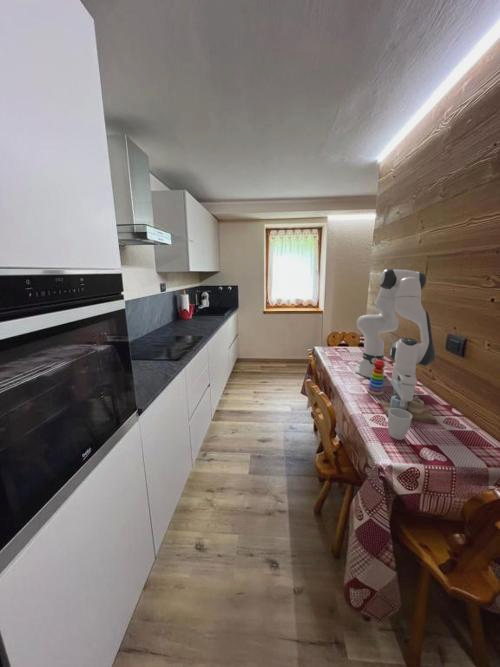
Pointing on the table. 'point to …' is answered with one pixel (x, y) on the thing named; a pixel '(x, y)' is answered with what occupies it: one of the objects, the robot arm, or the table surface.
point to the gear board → (414, 416)
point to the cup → (398, 423)
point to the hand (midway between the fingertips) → (398, 401)
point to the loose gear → (396, 403)
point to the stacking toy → (376, 379)
